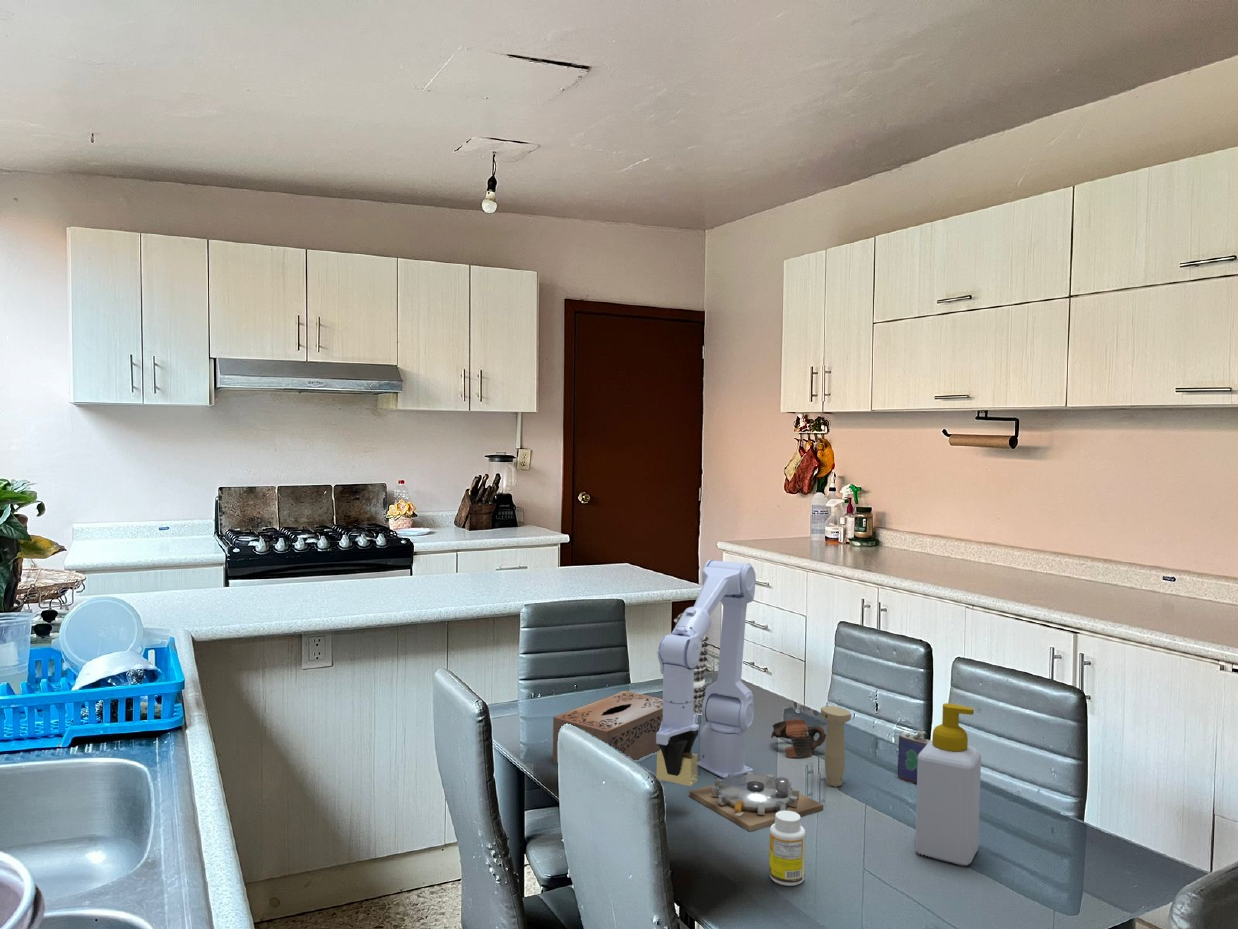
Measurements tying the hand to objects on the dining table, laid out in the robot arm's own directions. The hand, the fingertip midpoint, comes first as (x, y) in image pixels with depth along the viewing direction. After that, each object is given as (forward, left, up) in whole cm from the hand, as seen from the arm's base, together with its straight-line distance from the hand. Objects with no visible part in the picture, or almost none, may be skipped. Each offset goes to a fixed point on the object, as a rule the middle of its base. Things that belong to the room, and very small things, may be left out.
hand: (677, 771), depth 168 cm
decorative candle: (-46, +37, -8) cm, 59 cm away
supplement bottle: (+30, 0, -8) cm, 31 cm away
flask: (+14, +51, -8) cm, 53 cm away
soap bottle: (+37, +30, -8) cm, 48 cm away
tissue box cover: (-31, +6, -8) cm, 32 cm away
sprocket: (+5, +15, -6) cm, 17 cm away
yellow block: (0, 0, -2) cm, 2 cm away
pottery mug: (-12, +42, -8) cm, 44 cm away
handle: (+6, +35, -8) cm, 36 cm away
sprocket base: (+5, +15, -7) cm, 17 cm away
